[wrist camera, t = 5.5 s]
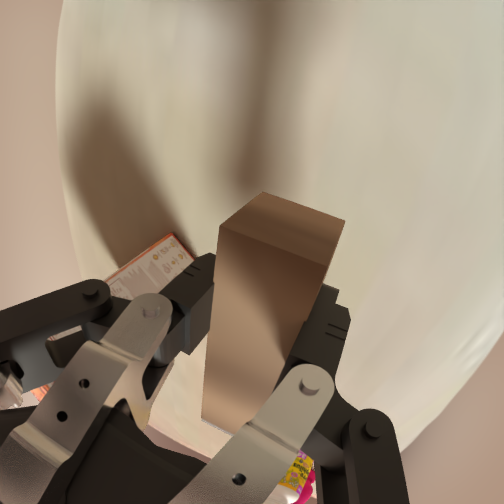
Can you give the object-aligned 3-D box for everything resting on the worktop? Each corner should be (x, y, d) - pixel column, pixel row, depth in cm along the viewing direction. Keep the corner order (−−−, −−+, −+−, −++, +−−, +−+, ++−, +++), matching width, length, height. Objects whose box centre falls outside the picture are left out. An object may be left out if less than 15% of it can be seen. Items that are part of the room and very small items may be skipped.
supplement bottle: (323, 457, 42) (297, 519, 32) (292, 457, 46) (265, 514, 36) (305, 439, 41) (275, 506, 31) (273, 440, 45) (242, 500, 35)
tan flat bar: (236, 183, 11) (188, 214, 8) (373, 231, 9) (365, 281, 7) (206, 413, 21) (187, 442, 18) (266, 441, 19) (249, 472, 17)
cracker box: (154, 314, 41) (50, 415, 24) (126, 281, 40) (15, 373, 24) (209, 272, 33) (65, 414, 16) (173, 229, 32) (10, 348, 15)
